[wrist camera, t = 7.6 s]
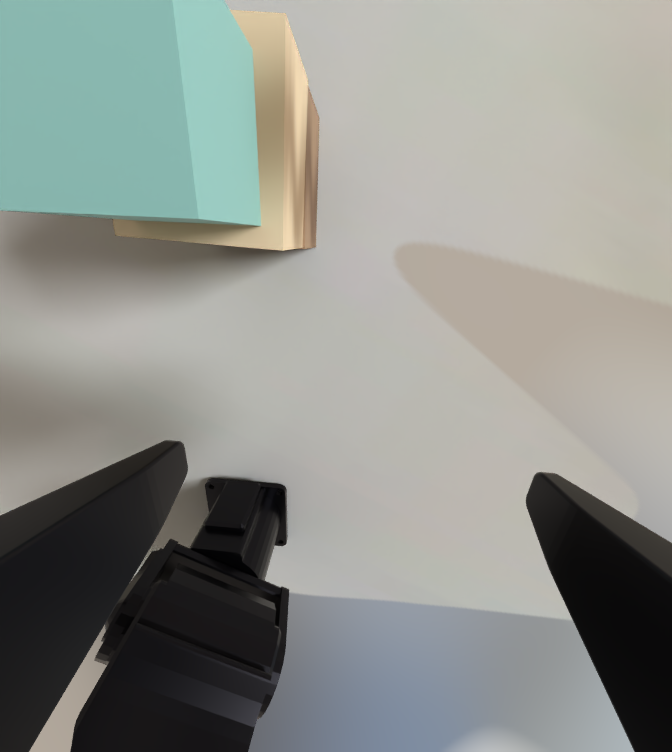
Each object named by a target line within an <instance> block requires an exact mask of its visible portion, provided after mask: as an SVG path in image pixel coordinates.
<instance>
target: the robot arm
mask: <svg viewBox="0 0 672 752" xmlns="http://www.w3.org/2000/svg"><path fill="white" fill-rule="evenodd" d="M187 471H188V465H187V459H186V453H185V448H184V444H183V443H182V442H180V441H172V440H166V441H163V442H161V443H158V444H156V445H154V446H152V447H150V448H148V449H145V450H143V451H141V452H139V453H137V454H134V455H132V456H130V457H128V458H126V459H123V460H121V461H119V462H117V463H115V464H112V465H110V466H108V467H106V468H104V469H101V470H99V471H97V472H95V473H93V474H91V475H88V476H86V477H84V478H82V479H80V480H77V481H75V482H73V483H71V484H69V485H66V486H64V487H62V488H60V489H58V490H55V491H53V492H51V493H49V494H47V495H44V496H42V497H40V498H38V499H36V500H34V501H31V502H29V503H27V504H25V505H23V506H20V507H18V508H16V509H14V510H12V511H9V512H7V513H5V514H3V515H1V516H0V752H29V751H30V749H31V747H32V745H33V744H34V742H35V740H36V739H37V737H38V735H39V734H40V732H41V730H42V728H43V727H44V725H45V723H46V722H47V720H48V719H49V717H50V715H51V713H52V712H53V710H54V709H55V707H56V705H57V704H58V702H59V700H60V698H61V697H62V695H63V693H64V692H65V690H66V688H67V687H68V685H69V683H70V682H71V680H72V678H73V677H74V675H75V673H76V672H77V670H78V668H79V666H80V665H81V663H82V662H83V660H84V658H85V657H86V655H87V653H88V651H89V650H90V648H91V646H92V645H93V643H94V641H95V640H96V638H97V636H98V635H99V633H100V631H101V630H102V628H103V626H104V625H105V629H106V632H105V634H104V636H103V638H102V640H101V641H102V642H103V644H102V646H101V648H100V649H99V651H98V653H97V655H96V657H95V661H97V662H100V663H103V664H105V665H107V667H106V668H105V670H104V672H103V674H102V675H101V677H100V679H99V680H98V682H97V684H96V686H95V688H94V689H93V691H92V693H91V695H90V696H89V698H88V700H87V701H86V703H85V705H84V707H83V708H82V710H81V712H80V714H79V716H78V718H77V720H76V724H75V727H74V733H73V740H72V746H71V752H248V749H249V746H250V742H251V738H252V735H253V731H254V727H255V724H256V721H257V719H259V718H261V717H262V715H263V714H264V713H265V711H266V709H267V707H268V706H269V704H270V701H271V699H272V697H273V695H274V692H275V689H276V686H277V683H278V680H279V677H280V674H281V669H282V665H283V661H284V655H285V648H286V633H287V617H288V616H287V615H288V600H289V589H287V588H284V587H281V588H280V587H278V586H276V585H273V584H271V583H269V582H266V581H264V580H265V577H266V573H267V570H268V566H269V563H270V559H271V556H272V552H273V549H274V545H276V546H284V545H286V542H287V490H286V487H285V486H283V485H280V484H269V483H258V482H247V481H236V480H225V479H214V478H211V479H209V480H208V481H207V483H206V484H205V488H206V495H207V501H208V508H209V514H208V516H207V518H206V519H205V521H204V523H203V525H202V527H201V528H200V530H199V532H198V534H197V536H196V537H195V539H194V541H193V543H192V545H191V546H190V548H187V547H185V546H182V545H180V544H178V542H177V541H175V540H172V539H170V540H169V542H168V543H167V544H166V546H165V547H164V549H161V548H160V550H158V551H152V552H151V554H150V555H149V557H148V558H147V560H146V561H145V563H144V564H143V566H142V567H141V569H140V570H139V572H138V573H137V574H136V576H135V577H134V578H133V580H132V581H131V579H132V577H133V576H134V574H135V573H136V571H137V569H138V568H139V566H140V564H141V562H142V561H143V559H144V557H145V556H146V554H147V552H148V551H149V549H150V547H151V546H152V544H153V542H154V541H155V539H156V537H157V535H158V534H159V532H160V530H161V528H162V526H163V524H164V522H165V520H166V518H167V516H168V514H169V512H170V509H171V507H172V505H173V503H174V501H175V499H176V497H177V495H178V492H179V490H180V488H181V486H182V484H183V482H184V480H185V477H186V475H187ZM211 484H212V485H211ZM213 485H214V486H213ZM279 491H281V492H279ZM526 506H527V509H528V512H529V515H530V518H531V520H532V523H533V526H534V529H535V532H536V534H537V537H538V540H539V543H540V546H541V548H542V551H543V554H544V557H545V559H546V562H547V565H548V567H549V570H550V572H551V574H552V576H553V579H554V581H555V583H556V585H557V587H558V589H559V592H560V594H561V596H562V598H563V600H564V602H565V604H566V606H567V609H568V611H569V613H570V615H571V617H572V619H573V621H574V623H575V625H576V628H577V630H578V632H579V634H580V636H581V638H582V641H583V643H584V645H585V647H586V649H587V651H588V653H589V656H590V657H591V660H592V662H593V664H594V666H595V668H596V670H597V673H598V675H599V677H600V679H601V681H602V683H603V685H604V687H605V690H606V692H607V694H608V696H609V698H610V700H611V702H612V705H613V707H614V709H615V711H616V713H617V715H618V717H619V720H620V722H621V724H622V726H623V728H624V730H625V732H626V734H627V737H628V739H629V741H630V743H631V745H632V747H633V749H634V751H635V752H672V543H671V542H669V541H667V540H666V539H664V538H662V537H660V536H659V535H657V534H656V533H654V532H652V531H650V530H649V529H647V528H646V527H644V526H642V525H641V524H639V523H637V522H636V521H634V520H633V519H631V518H629V517H628V516H626V515H624V514H623V513H621V512H619V511H618V510H616V509H614V508H613V507H611V506H609V505H608V504H606V503H604V502H603V501H601V500H599V499H598V498H596V497H594V496H593V495H591V494H589V493H588V492H586V491H584V490H583V489H581V488H579V487H578V486H576V485H574V484H573V483H571V482H569V481H568V480H566V479H564V478H563V477H561V476H559V475H558V474H555V473H546V472H538V473H536V474H535V476H534V478H533V480H532V483H531V486H530V488H529V491H528V494H527V497H526ZM130 581H131V582H130Z"/></svg>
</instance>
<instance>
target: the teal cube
mask: <svg viewBox="0 0 672 752" xmlns="http://www.w3.org/2000/svg"><path fill="white" fill-rule="evenodd" d="M0 210H2V211H15V212H29V213H42V214H55V215H69V216H82V217H95V218H109V219H122V220H137V221H160V222H182V223H205V224H227V225H250V226H261V211H260V191H259V170H258V150H257V129H256V109H255V88H254V68H253V49H252V47H251V46H250V44H249V42H248V41H247V39H246V37H245V35H244V34H243V32H242V30H241V29H240V27H239V25H238V23H237V22H236V20H235V18H234V16H233V15H232V13H231V11H230V10H229V8H228V6H227V4H226V3H225V1H224V0H0Z"/></svg>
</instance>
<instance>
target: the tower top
mask: <svg viewBox="0 0 672 752" xmlns="http://www.w3.org/2000/svg"><path fill="white" fill-rule="evenodd" d="M230 11H231V13H232V15H233V16H234V18H235V20H236V22H237V23H238V25H239V27H240V29H241V30H242V32H243V34H244V35H245V37H246V39H247V41H248V42H249V44H250V46H251V47H252V49H253V68H254V88H255V109H256V129H257V150H258V170H259V191H260V211H261V226H250V225H227V224H205V223H182V222H160V221H137V220H122V219H112V220H113V225H114V231H115V236H125V237H136V238H147V239H158V240H169V241H180V242H192V243H203V244H214V245H225V246H236V247H247V248H259V249H270V250H281V251H284V250H291V249H297V248H302V247H303V218H304V189H305V160H306V131H307V102H308V79H307V76H306V73H305V70H304V67H303V64H302V61H301V58H300V55H299V52H298V49H297V46H296V43H295V40H294V37H293V34H292V31H291V28H290V25H289V22H288V19H287V16H286V13H270V12H255V11H239V10H230Z"/></svg>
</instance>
